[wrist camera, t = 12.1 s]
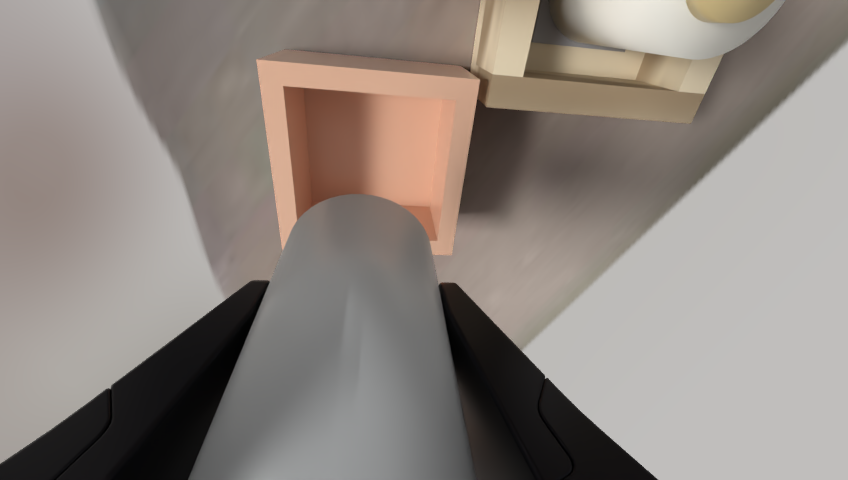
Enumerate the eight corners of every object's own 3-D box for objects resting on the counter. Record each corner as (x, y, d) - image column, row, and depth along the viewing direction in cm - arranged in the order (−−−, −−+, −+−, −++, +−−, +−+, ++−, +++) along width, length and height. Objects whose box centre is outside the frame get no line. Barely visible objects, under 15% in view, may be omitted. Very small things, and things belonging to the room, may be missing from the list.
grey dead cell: (424, 310, 11) (474, 677, 5) (294, 310, 11) (175, 715, 5) (439, 196, 9) (552, 588, 3) (277, 190, 9) (18, 641, 3)
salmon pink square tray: (440, 214, 21) (451, 255, 18) (300, 208, 20) (282, 250, 17) (460, 65, 17) (480, 79, 14) (284, 49, 16) (256, 59, 12)
